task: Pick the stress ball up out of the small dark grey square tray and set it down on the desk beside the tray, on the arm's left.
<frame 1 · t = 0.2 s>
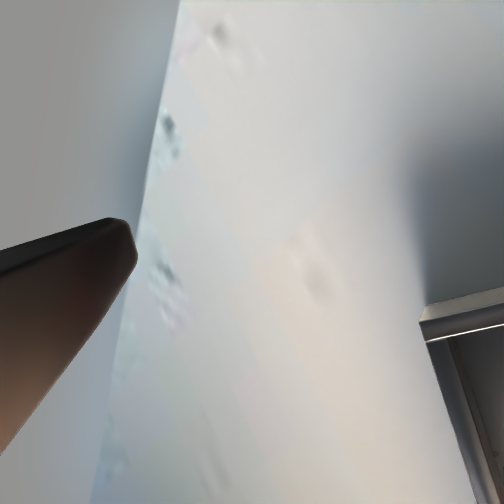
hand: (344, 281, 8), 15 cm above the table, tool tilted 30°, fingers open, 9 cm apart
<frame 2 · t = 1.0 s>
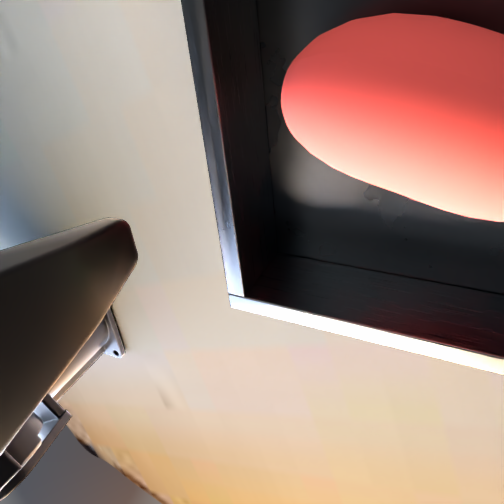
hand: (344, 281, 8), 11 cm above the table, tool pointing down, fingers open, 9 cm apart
stress ball: (444, 95, 16), resting on dark grey square tray
dark grey square tray: (445, 93, 16), on the table
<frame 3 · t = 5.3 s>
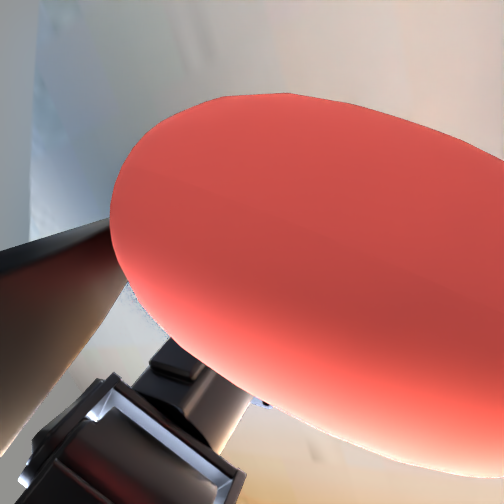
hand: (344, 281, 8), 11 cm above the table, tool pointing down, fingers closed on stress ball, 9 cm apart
stress ball: (389, 205, 10), point 8 cm above the table, touching gripper
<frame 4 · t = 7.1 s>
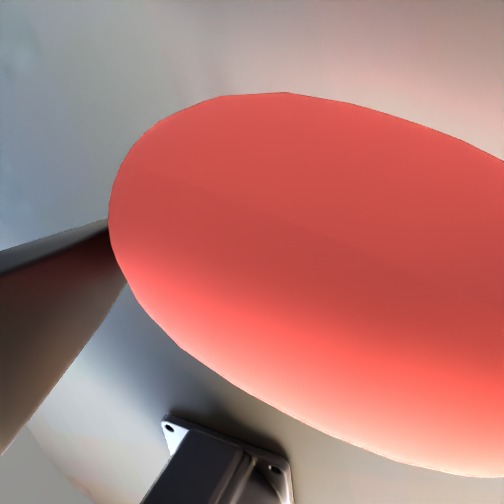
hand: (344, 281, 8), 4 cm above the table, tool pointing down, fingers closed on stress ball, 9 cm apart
stress ball: (388, 205, 10), point 2 cm above the table, touching gripper
when the fingers open (2 cm above the table, at t = 8.2 s): stress ball stays where it is, on the table.
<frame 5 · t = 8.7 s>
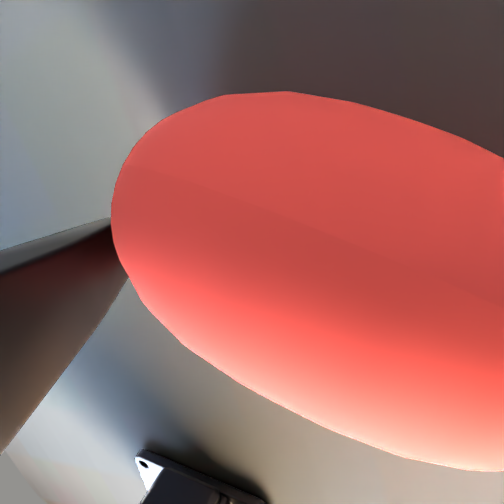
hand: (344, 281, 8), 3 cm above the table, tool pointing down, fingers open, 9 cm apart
stress ball: (389, 203, 10), on the table, touching gripper
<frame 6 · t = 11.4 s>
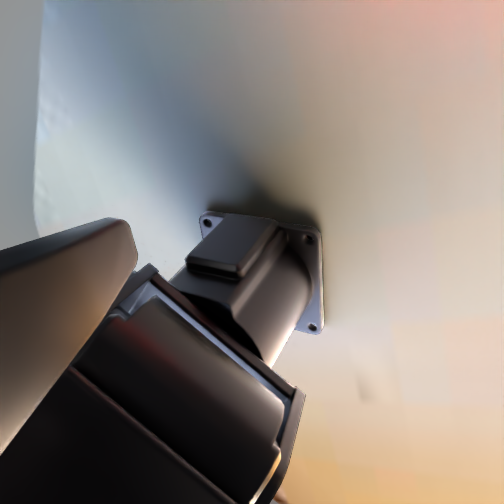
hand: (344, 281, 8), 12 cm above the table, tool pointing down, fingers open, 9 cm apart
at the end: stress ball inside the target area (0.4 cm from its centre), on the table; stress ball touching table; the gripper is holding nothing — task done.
